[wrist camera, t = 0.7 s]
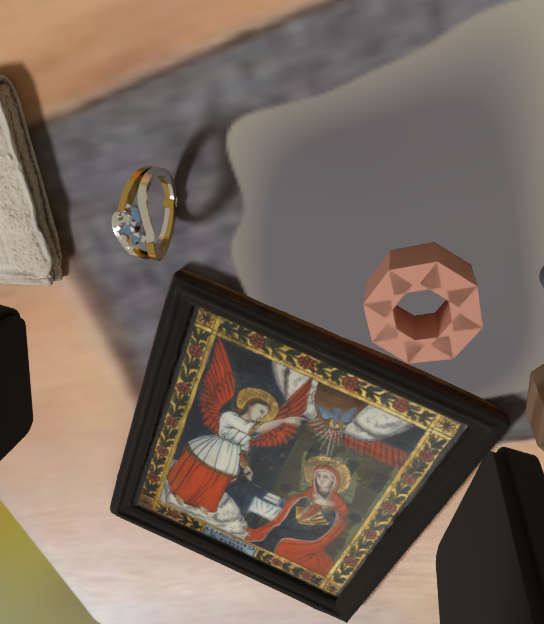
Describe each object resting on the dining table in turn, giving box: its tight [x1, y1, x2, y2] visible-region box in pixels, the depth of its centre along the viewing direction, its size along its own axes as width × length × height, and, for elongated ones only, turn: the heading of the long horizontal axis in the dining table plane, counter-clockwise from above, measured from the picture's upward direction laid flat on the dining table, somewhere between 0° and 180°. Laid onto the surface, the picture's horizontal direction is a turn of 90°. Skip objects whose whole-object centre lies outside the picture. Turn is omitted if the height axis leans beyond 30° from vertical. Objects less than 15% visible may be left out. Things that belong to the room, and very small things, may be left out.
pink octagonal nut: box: [363, 242, 483, 364], centre depth 38 cm, size 8×8×4 cm
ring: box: [112, 166, 178, 261], centre depth 38 cm, size 7×3×8 cm, turn 173°
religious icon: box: [110, 269, 510, 623], centre depth 52 cm, size 38×35×3 cm
